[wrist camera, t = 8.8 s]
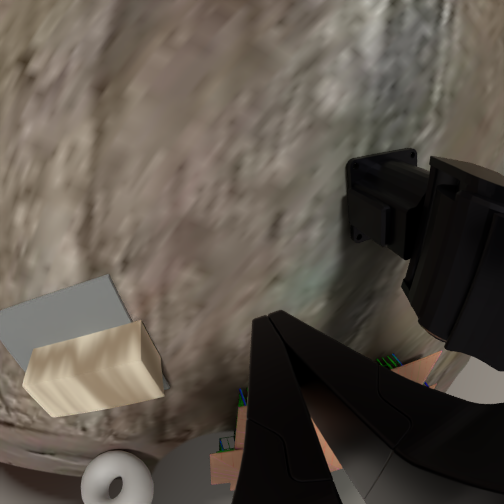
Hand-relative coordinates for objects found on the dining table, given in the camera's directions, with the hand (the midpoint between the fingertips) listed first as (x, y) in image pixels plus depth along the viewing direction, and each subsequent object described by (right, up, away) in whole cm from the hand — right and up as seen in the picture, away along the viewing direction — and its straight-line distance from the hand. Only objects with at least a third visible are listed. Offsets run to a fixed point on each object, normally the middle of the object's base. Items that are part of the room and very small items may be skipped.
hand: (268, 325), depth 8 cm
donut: (-17, -21, +20) cm, 34 cm away
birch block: (-7, -5, +12) cm, 15 cm away
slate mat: (-14, -6, +13) cm, 20 cm away
